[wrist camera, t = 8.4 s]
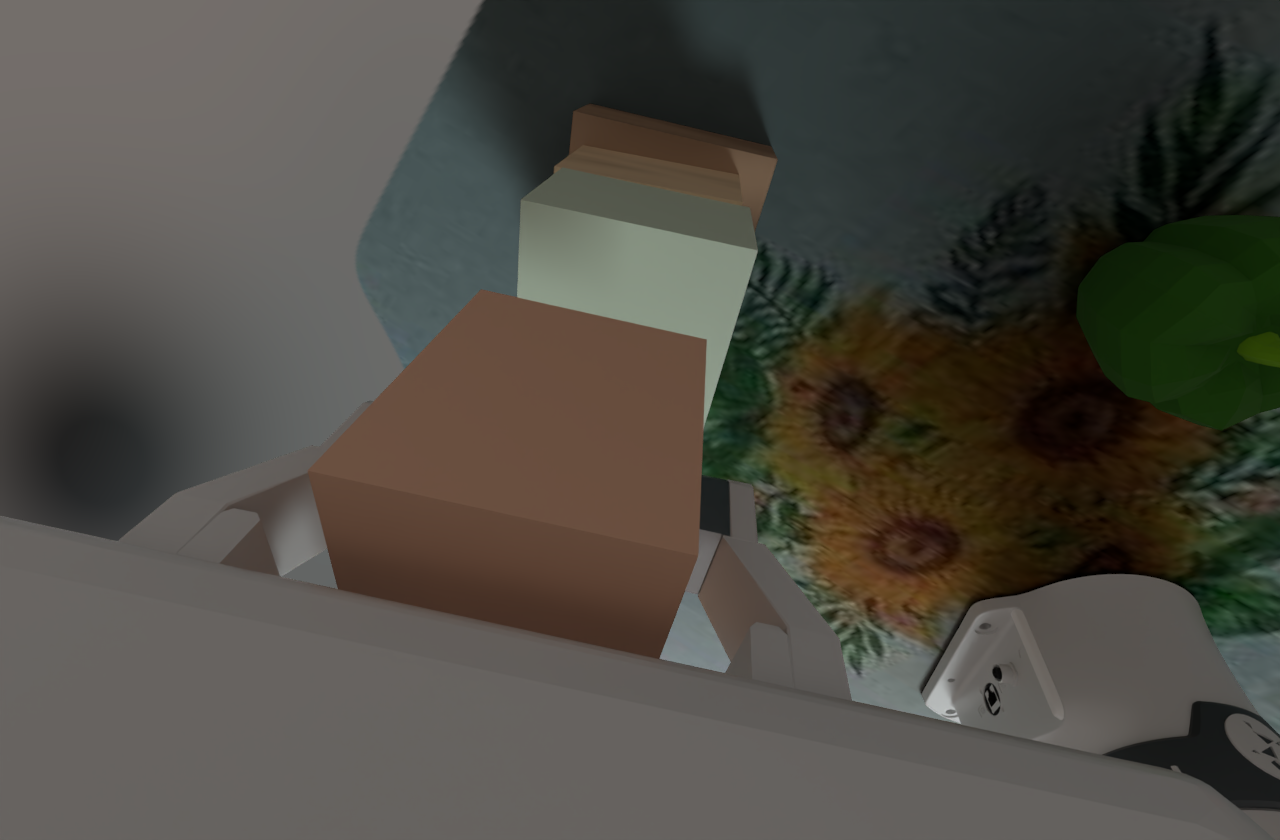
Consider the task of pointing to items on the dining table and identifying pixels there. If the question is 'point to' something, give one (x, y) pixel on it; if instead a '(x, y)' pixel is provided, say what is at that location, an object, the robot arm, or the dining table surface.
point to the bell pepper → (1191, 318)
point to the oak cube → (656, 173)
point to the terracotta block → (528, 476)
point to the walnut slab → (678, 147)
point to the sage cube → (638, 257)
